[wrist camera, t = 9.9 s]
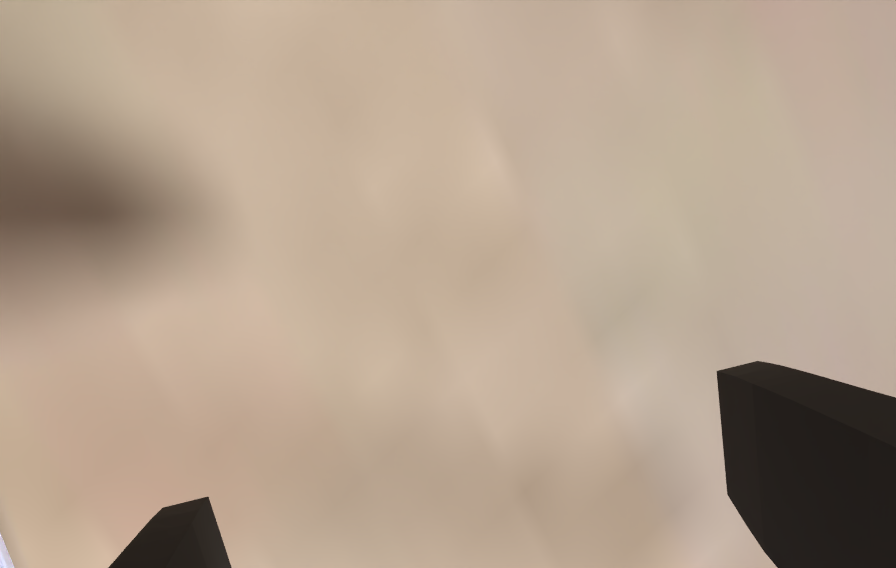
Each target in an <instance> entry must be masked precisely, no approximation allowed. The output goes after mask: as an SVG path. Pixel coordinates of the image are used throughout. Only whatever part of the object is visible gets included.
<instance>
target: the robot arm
mask: <svg viewBox="0 0 896 568" xmlns="http://www.w3.org/2000/svg"><path fill="white" fill-rule="evenodd" d="M717 380H718V391H719V403H720V414H721V425H722V437H723V448H724V460H725V471H726V483H727V494H728V496H729V498H730V499H731V501H732V503H733V504H734V506H735V507H736V509H737V511H738V512H739V514H740V515H741V517H742V519H743V520H744V522H745V523H746V525H747V527H748V528H749V530H750V531H751V533H752V534H753V535H754V537H755V538H756V540H757V541H758V543H759V544H760V546H761V547H762V549H763V550H764V552H765V553H766V554H767V555H768V557H769V558H770V559H771V560H772V561H773V563H774V564H775V565H776V566H777V567H778V568H896V398H895V397H891V396H888V395H884V394H881V393H877V392H874V391H870V390H866V389H863V388H860V387H856V386H853V385H849V384H846V383H842V382H839V381H835V380H832V379H828V378H825V377H821V376H818V375H814V374H811V373H807V372H804V371H800V370H796V369H792V368H789V367H785V366H780V365H776V364H771V363H766V362H760V361H756V362H752V363H748V364H744V365H740V366H736V367H732V368H728V369H724V370H719V371H717ZM0 568H14V565H13V563H12V560H11V558H10V555H9V553H8V550H7V548H6V546H5V543H4V541H3V538H2V536H1V533H0ZM109 568H231V565H230V562H229V559H228V556H227V552H226V549H225V546H224V543H223V540H222V537H221V534H220V531H219V528H218V525H217V522H216V519H215V516H214V513H213V510H212V507H211V503H210V500H209V497H205V498H201V499H197V500H193V501H189V502H184V503H180V504H176V505H172V506H168V507H164V508H162V509H161V510H160V511H159V512H158V513H157V514H156V515H155V516H154V517H153V518H152V519H151V520H150V521H149V522H148V523H147V524H146V526H145V527H144V528H143V529H142V530H141V531H140V532H139V533H138V534H137V536H136V537H135V538H134V539H133V540H132V541H131V543H130V544H129V545H128V546H127V547H126V548H125V549H124V551H123V552H122V553H121V554H120V555H119V556H118V557H117V559H116V560H115V561H114V562H113V563H112V564H111V565H110V567H109Z"/></svg>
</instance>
